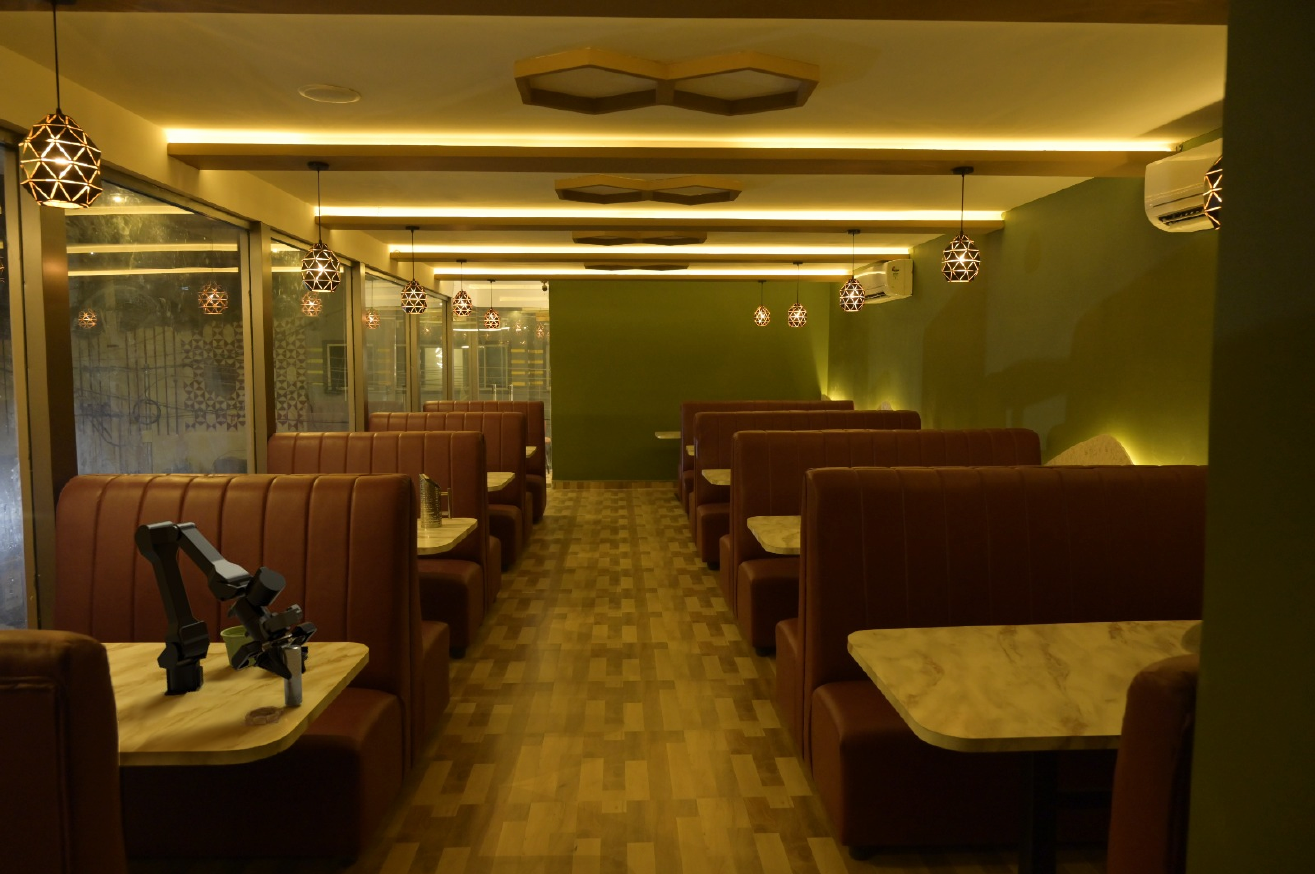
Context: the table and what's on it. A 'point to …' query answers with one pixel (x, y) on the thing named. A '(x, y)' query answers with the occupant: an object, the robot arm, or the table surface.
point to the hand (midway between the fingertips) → (297, 675)
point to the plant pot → (236, 641)
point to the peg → (293, 675)
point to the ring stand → (263, 716)
